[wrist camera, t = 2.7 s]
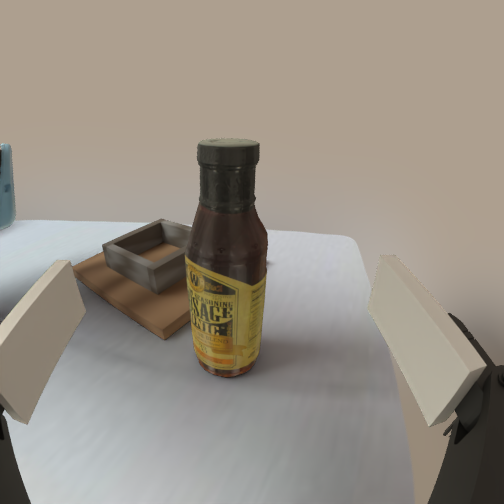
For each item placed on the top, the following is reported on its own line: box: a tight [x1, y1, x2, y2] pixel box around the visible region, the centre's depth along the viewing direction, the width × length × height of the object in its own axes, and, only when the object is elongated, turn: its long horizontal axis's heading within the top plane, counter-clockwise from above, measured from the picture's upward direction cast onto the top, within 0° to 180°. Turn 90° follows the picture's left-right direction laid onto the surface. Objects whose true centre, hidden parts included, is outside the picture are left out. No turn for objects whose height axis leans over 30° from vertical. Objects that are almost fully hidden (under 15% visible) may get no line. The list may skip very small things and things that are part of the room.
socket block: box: [72, 219, 192, 340], centre depth 41 cm, size 22×20×5 cm
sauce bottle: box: [185, 138, 268, 378], centre depth 23 cm, size 7×6×20 cm
